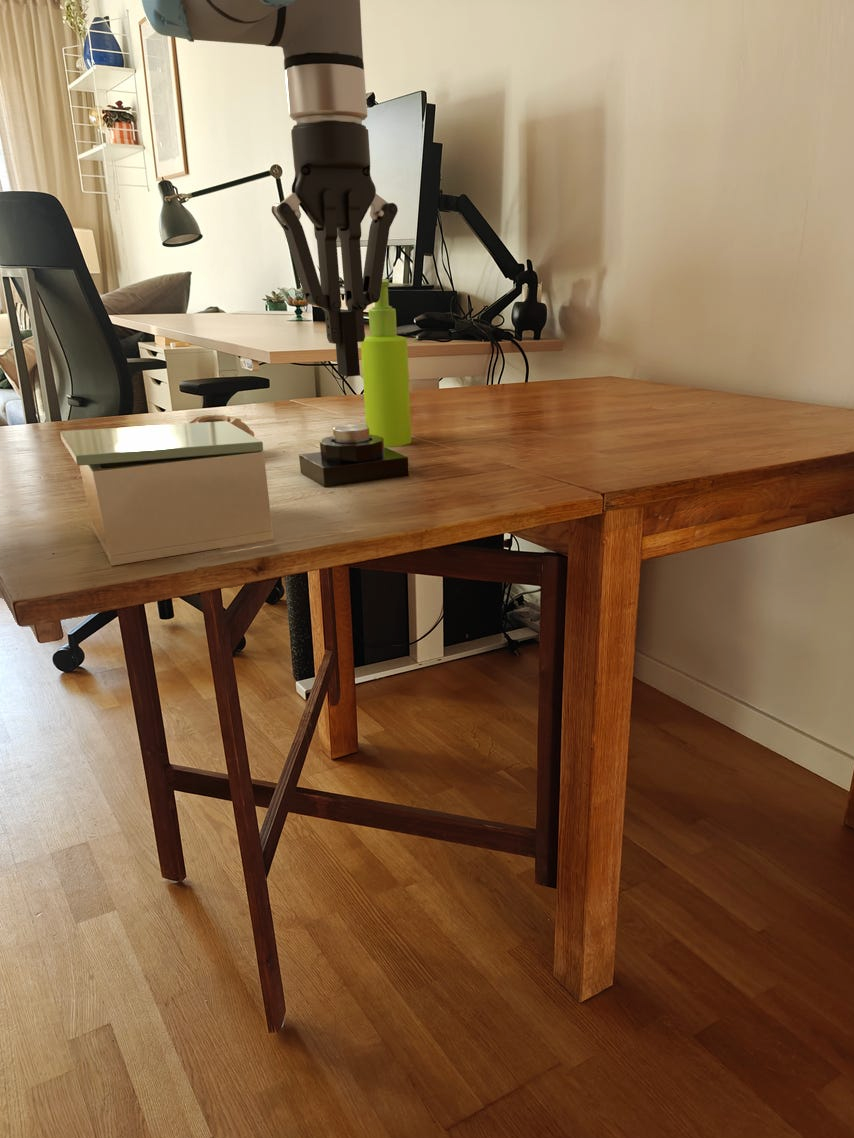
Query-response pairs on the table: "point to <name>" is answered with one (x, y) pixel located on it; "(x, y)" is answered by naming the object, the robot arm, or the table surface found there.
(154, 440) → the box lid
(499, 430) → the table surface
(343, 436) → the silver push button
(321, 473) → the plate
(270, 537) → the wooden box
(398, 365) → the lime green bottle
